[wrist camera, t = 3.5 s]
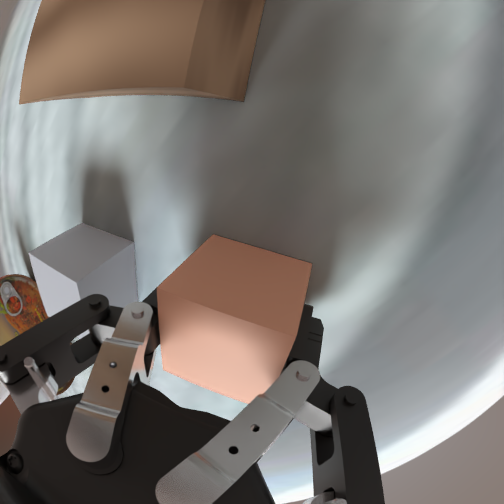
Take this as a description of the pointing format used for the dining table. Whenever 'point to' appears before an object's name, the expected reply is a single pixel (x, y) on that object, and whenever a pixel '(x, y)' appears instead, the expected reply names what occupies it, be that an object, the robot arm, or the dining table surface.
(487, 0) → the dining table surface
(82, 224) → the grey-blue cube
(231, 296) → the terracotta cube
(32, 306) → the tin
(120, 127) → the dining table surface
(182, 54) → the walnut block
